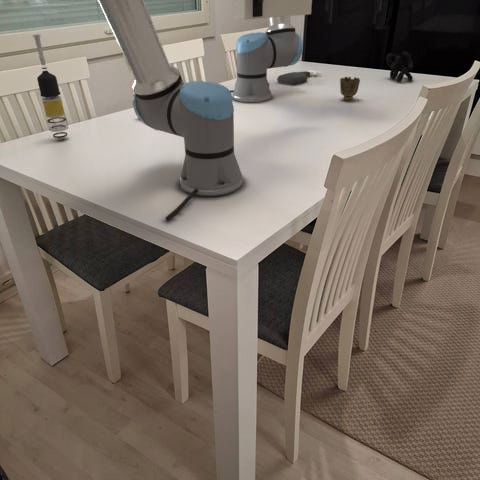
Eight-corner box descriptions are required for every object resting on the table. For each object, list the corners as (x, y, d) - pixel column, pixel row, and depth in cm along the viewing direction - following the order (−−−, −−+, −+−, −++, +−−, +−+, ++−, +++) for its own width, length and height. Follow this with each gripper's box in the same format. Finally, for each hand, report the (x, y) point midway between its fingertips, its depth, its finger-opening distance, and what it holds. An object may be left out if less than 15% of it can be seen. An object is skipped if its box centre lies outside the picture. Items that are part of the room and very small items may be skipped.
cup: (335, 101, 172) (337, 79, 168) (341, 96, 178) (343, 75, 173) (354, 103, 169) (357, 81, 165) (359, 98, 175) (362, 77, 170)
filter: (71, 140, 139) (47, 35, 123) (52, 143, 137) (25, 36, 121) (69, 135, 143) (46, 33, 127) (51, 137, 141) (25, 34, 126)
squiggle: (400, 92, 202) (376, 71, 205) (417, 76, 202) (392, 56, 205) (405, 81, 191) (380, 59, 194) (423, 64, 191) (397, 42, 194)
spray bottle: (274, 82, 200) (304, 73, 216) (295, 86, 194) (324, 76, 210) (275, 75, 198) (304, 67, 214) (295, 78, 192) (324, 70, 208)
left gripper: (287, -95, 103) (283, 17, 115) (243, -88, 116) (243, 12, 128) (262, -97, 100) (260, 19, 112) (218, -89, 112) (221, 14, 124)
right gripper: (405, -60, 127) (393, 22, 139) (319, -57, 135) (314, 21, 146) (404, -60, 121) (391, 25, 133) (313, -58, 129) (309, 24, 140)
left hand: (251, 15), depth 120 cm, fingers closed on bar, 5 cm apart
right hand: (351, 23), depth 139 cm, fingers open, 13 cm apart
